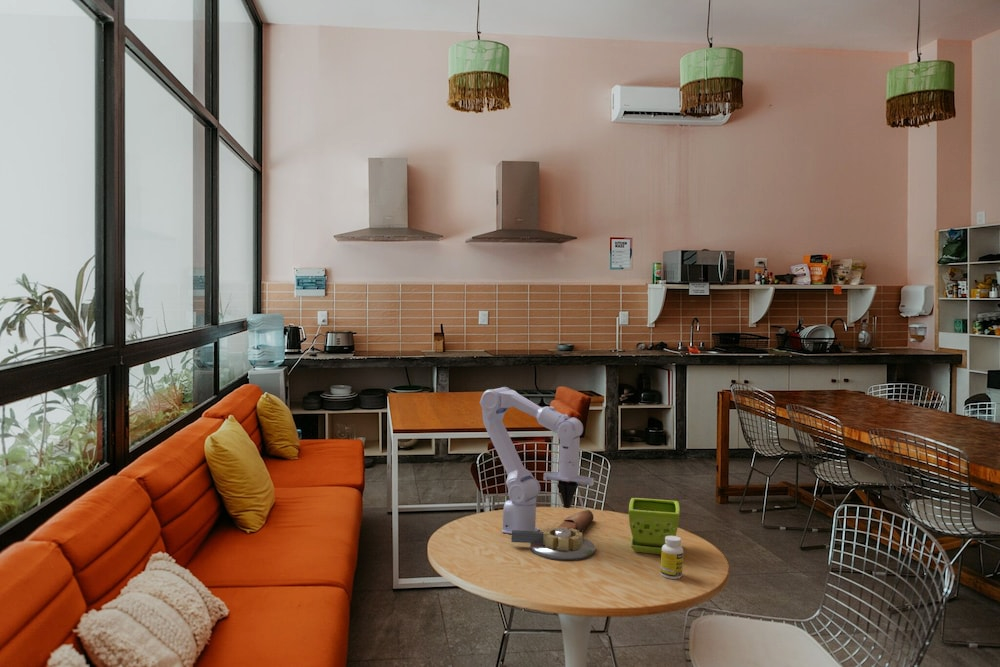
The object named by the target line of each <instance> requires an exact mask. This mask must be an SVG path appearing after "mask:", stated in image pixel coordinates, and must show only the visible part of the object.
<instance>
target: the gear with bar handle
mask: <svg viewBox="0 0 1000 667" xmlns="http://www.w3.org/2000/svg"><path fill="white" fill-rule="evenodd" d="M556 528H557V529H558V528H565V529H567V527H558V526H557V527H549V528H545V530H543V531H540V530H539V531H520V530H512V534H511V539H510V540H511V543H523V544H530V543H542V544H543V545H545V546H546V547H548V548H551V549H555V548H557V541H558V550H564V551H568V545H569V549H572V550H576V549H579V548H580V546H582V538H584V536H583V532H580V531H579V530H576V529H573V528H571V529H569V530H571V537H569V538H564V537H556V536H555V530H556Z"/></svg>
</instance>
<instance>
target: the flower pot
mask: <svg viewBox="0 0 1000 667" xmlns="http://www.w3.org/2000/svg"><path fill="white" fill-rule="evenodd" d="M628 504H629V505H628V522H629V528H630V531H631V541H630V547H631V549H632V550H633V551H634V552H635V553H645V554H653V555H661V554H662V546H663V545H665V544H666V543H665V537H666V536H677V532H678V527H679V522H680V515H681V514H680V513H681V508H680V507H681V506H680V503H679V501H677V500H667V499H656V498H655V499H654V498H642V497H641V498H640V497H631V499H630V500H629V503H628Z"/></svg>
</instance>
